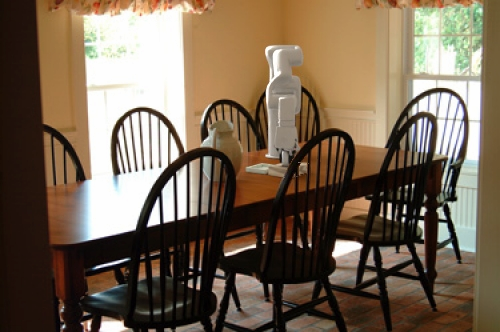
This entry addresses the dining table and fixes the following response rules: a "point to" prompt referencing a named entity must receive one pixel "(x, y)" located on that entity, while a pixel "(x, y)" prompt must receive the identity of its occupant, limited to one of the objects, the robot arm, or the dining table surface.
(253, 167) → the rack tray
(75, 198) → the dining table surface
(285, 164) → the white upright block
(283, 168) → the crumpled beige cloth
